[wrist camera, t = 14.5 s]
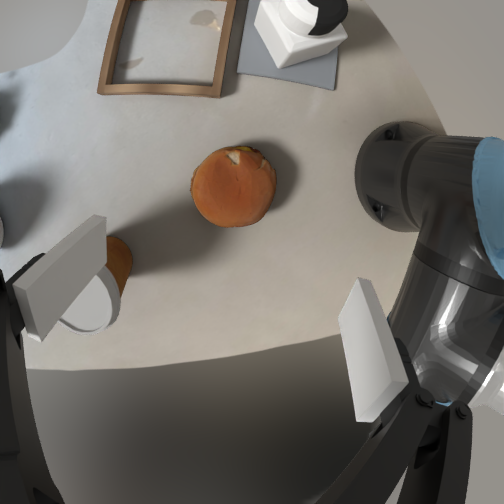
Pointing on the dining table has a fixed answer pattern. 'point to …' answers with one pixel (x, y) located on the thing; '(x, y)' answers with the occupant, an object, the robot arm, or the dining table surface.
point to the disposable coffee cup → (101, 293)
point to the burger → (234, 186)
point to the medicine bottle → (300, 28)
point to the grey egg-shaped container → (1, 232)
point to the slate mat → (262, 64)
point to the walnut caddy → (160, 89)
